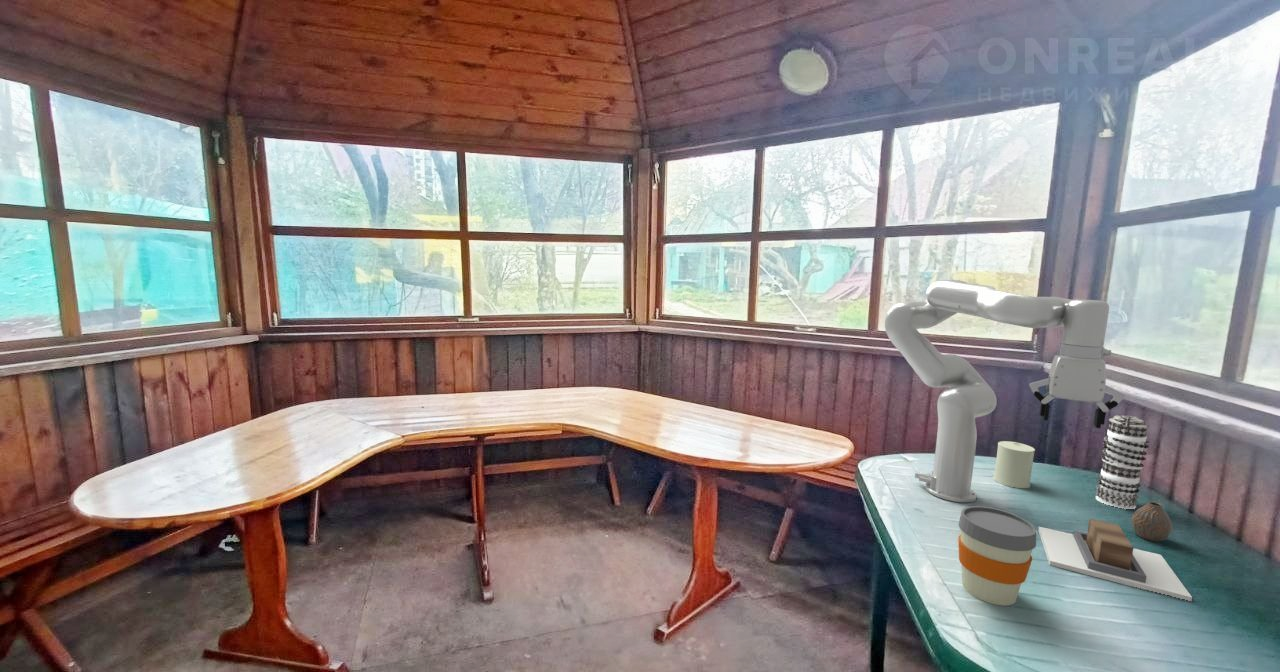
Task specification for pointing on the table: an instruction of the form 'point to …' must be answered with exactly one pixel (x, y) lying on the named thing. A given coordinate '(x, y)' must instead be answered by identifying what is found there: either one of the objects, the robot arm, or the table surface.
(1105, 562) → the walnut bar
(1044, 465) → the table surface
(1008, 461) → the can
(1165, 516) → the vase
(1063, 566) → the slot board
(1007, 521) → the reusable coffee cup
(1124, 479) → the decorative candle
